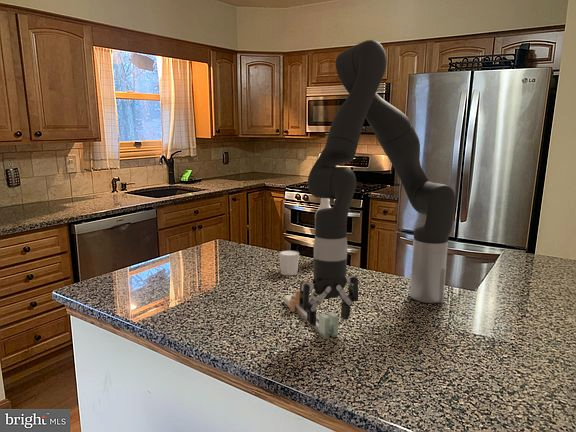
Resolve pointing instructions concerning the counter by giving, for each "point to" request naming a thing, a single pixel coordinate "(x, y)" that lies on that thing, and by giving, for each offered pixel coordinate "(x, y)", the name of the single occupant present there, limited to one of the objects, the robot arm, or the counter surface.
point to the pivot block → (287, 300)
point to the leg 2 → (333, 323)
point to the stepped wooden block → (295, 300)
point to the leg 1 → (323, 323)
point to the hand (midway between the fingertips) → (328, 321)
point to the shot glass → (289, 262)
